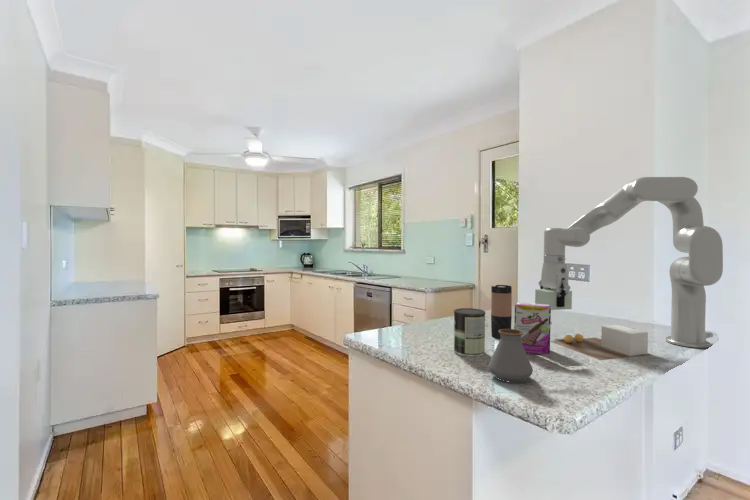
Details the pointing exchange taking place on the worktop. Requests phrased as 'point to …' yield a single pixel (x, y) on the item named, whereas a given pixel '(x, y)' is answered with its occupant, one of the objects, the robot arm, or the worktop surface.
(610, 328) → the white block
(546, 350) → the candy bar box
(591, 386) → the worktop surface
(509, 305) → the travel mug
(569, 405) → the worktop surface
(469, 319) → the coffee can
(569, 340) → the marble
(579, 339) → the marble
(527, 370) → the coffee pot
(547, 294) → the pale green block
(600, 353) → the walnut board
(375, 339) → the worktop surface
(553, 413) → the worktop surface
